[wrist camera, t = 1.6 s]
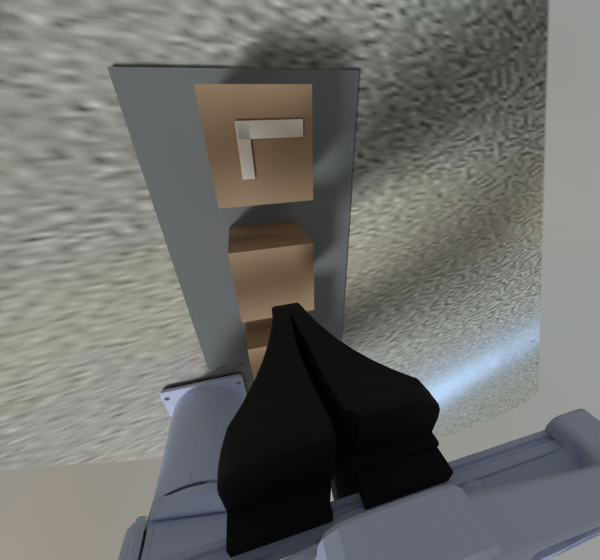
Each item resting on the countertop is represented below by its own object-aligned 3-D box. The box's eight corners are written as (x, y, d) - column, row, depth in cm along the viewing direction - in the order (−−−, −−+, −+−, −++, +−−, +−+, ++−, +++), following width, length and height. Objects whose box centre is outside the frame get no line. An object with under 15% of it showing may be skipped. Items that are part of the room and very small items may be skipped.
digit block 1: (302, 339, 25) (317, 381, 21) (252, 349, 24) (256, 395, 20) (300, 299, 22) (316, 337, 18) (244, 309, 22) (247, 351, 17)
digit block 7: (295, 186, 17) (316, 200, 13) (222, 191, 17) (218, 209, 12) (291, 100, 15) (316, 83, 11) (205, 101, 14) (192, 83, 10)
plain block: (298, 276, 21) (314, 309, 17) (240, 285, 20) (241, 323, 16) (295, 220, 19) (313, 242, 14) (229, 227, 18) (227, 253, 14)
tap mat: (340, 340, 27) (341, 342, 27) (208, 367, 24) (208, 369, 24) (356, 71, 15) (358, 70, 15) (109, 68, 13) (107, 66, 12)
